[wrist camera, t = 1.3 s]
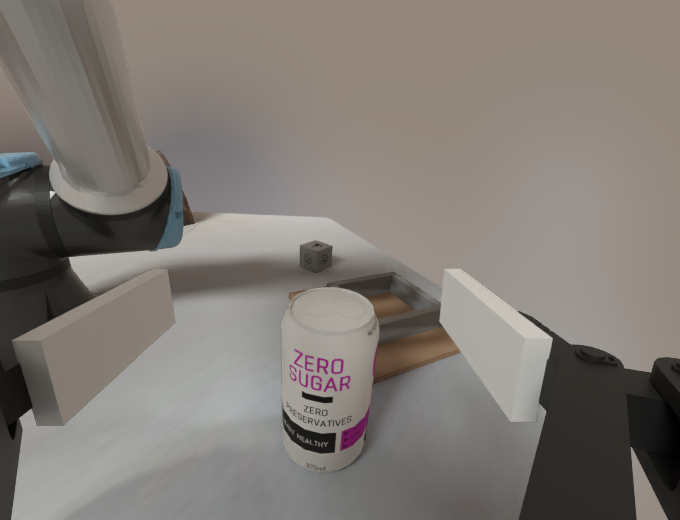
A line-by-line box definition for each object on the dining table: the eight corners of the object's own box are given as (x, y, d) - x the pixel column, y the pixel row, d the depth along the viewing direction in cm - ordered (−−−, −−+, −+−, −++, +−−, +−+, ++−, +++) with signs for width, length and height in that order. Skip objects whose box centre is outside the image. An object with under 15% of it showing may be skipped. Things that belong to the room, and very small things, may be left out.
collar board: (289, 300, 57) (289, 275, 55) (395, 280, 68) (398, 258, 66) (355, 394, 38) (358, 360, 36) (489, 345, 48) (497, 317, 47)
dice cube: (331, 266, 71) (332, 245, 69) (316, 273, 67) (317, 251, 65) (314, 260, 74) (315, 240, 72) (299, 266, 70) (299, 245, 68)
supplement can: (348, 397, 36) (360, 281, 31) (377, 465, 29) (399, 329, 23) (277, 411, 34) (275, 287, 28) (289, 489, 27) (289, 344, 21)
